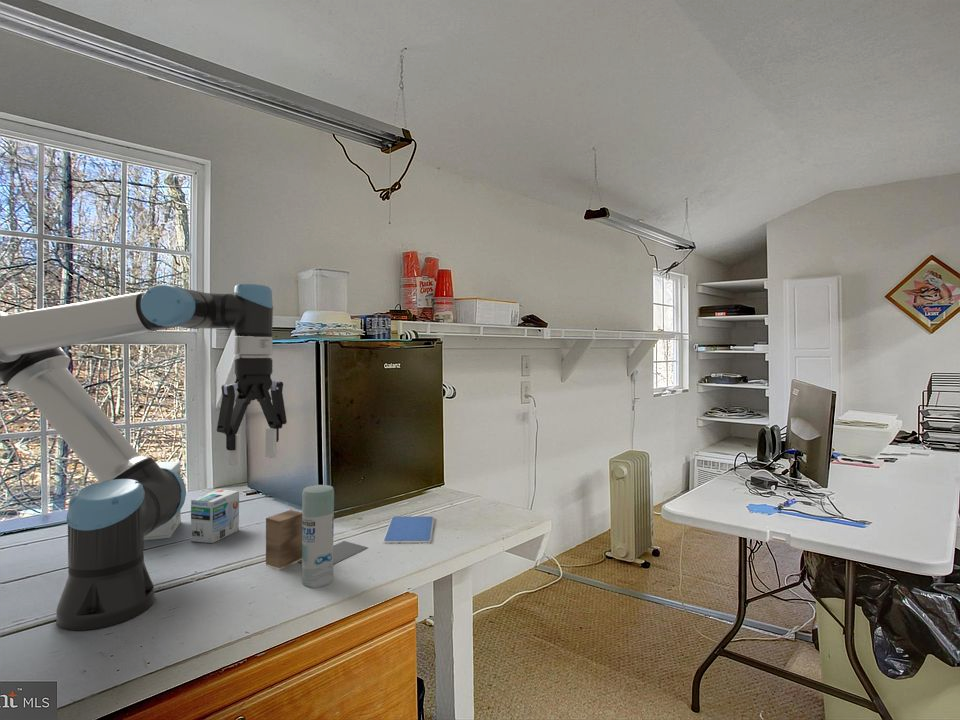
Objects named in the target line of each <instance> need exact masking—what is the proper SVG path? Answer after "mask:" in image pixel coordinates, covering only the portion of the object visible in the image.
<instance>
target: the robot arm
mask: <svg viewBox="0 0 960 720" xmlns="http://www.w3.org/2000/svg"><path fill="white" fill-rule="evenodd" d="M273 305H274V304H273V292H272V288H270V287H269V285H268V286H267V285H263V284H257V283H256V284H253V283H252V284H251V283H239V284H236V285H235V286H234V290H233V293H231V292H230V293H213V292H210V293H209V292H203V291H199V290H198V291H197V290H193V289H189V288H184V287H181V286H178V285H173V284H158V285H154V286H152V287H150V288H148V289H147V290H146V291H140V292H132V293H128V294H122V295H116V296H111V297H106V298H98V299H93V300H86V301H81V302H75V303H69V304H62V305H57V306H51V307H44V308H39V309H34V310H26V311H21V312H16V313H15V312H14V313H10V314H9V313H6V312H4V311H0V380H1V381H2V382H3V383H4V385H5V386H6V387H7V388H8V389H9V390H11V391H18V392H23V393H24V394H25V395H26V397H27V398H28V399H29V400H30V401H31V403H32V404H33V405H34V406H35V408H36V409H38V411H39V412H40V413H41V414H42V416H43V417H44V418H45V420H46V421H47V422H48V423H49V424H50V425H51V427H53V429H54V430H55V432H57V434H58V435H59V436H60V437H61V439H62V440H63V441H64V442H65V443H66V444H67V445H68V447H69V448H70V449H71V450H72V451H73V453H74V454H75V455H76V456H77V458H78V459H79V460H80V461H81V462H82V464H84V466H85V467H86V468H87V469H88V471H89V472H90V473H91V475H93V476H94V478H95V479H96V480H97V483H95V482H94V483H92V484H89V485H87V486H85V487H82V488H80V489H78V490H77V491H76V492H75V493H74V494H73V495H72V496H71V497H70V498H69V501H68V506H67V507H68V508H67V509H68V510H67V514H66V523H67V557H68V558H67V559H68V560H67V563H68V564H67V565H68V566H67V567H68V570H67V572H68V576H67V580H66V582H65V586H64V587H63V590H62V594H61V596H60V598H59V601H58V604H57V607H56V624H57V626H59V627H60V628H62V629H64V630H69V631H70V630H71V631H88V630H95V629H102V628H105V627H111V626H113V625H117V624H120V623H123V622H125V621H128V620H130V619H132V618H135V617H136V616H139V615H140V614H143V613H144V612H146V610H148V609H149V608H150V607H151V606H152V605H153V604H154V602H155V586H154V583H153V581H152V579H151V576H150V574H149V573H150V572H148V571H149V570H148V569H147V566H146V564H145V559H144V558H145V557H144V556H145V553H144V551H145V550H144V549H145V548H144V547H145V545H144V543H145V540H144V536H145V535H147V534H149V533H150V532H152V531H153V530H155V529H156V528H158V527H159V526H161V525H164V524H165V523H167V522H168V521H169V520H171V519H172V518H173V517H174V516H175V515H176V514H177V513H178V512H179V511H180V510H182V508H183V506H184V504H185V501H186V497H187V487H186V483H185V482H184V480H183V478H182V477H181V474H180V475H179V474H177V473H176V472H175V471H173V470H171V469H166V468H160V467H159V466H158V464H157V463H156V462H157V461H155V459H154V458H153V457H151V456H149V455H148V456H147V455H141V454H139V452H137V450H136V449H135V448H134V447H133V446H132V445H131V443H130V442H129V441H128V439H127V438H126V437H125V436H124V434H122V433H121V431H120V430H119V429H118V428H117V426H116V425H115V424H114V423H113V422H112V421H111V420H110V418H109V416H107V414H106V413H105V412H104V411H103V410H102V408H101V407H100V406H99V405H98V404H97V403H96V400H94V399H93V398H92V396H91V395H90V394H89V393H88V392H87V390H86V389H85V388H84V387H83V386H82V384H81V383H80V382H79V381H78V379H77V378H76V377H75V376H74V375H73V373H71V371H70V370H69V365H70V362H71V358H70V357H69V356H68V354H67V352H68V351H67V349H66V347H71V346H75V345H81V344H85V343H86V344H87V343H92V342H98V341H103V340H104V341H105V340H109V339H115V338H121V337H125V336H131V335H136V334H141V333H142V334H144V333H147V332H153V331H154V332H155V331H162V330H167V329H168V330H169V329H173V328H182V329H183V328H185V329H191V330H193V329H195V330H198V329H228V330H232V329H234V353H233V354H234V355H236V356H237V357H235V358H234V374H235V381H234V382H233V383H230V384H225V383H224V384H222V385H221V387H220V389H221V394H222V395H221V396H222V397H221V403H220V408H219V415H218V419H217V424H216V425H217V426H216V431H217V432H218V433H221V434H224V435H225V436H226V437H225V438H226V439H225V444H226V446H225V448H226V450H227V451H229V452H228V455H229V457H228V461H229V462H228V464H229V465H228V466H235V467H241V464H242V460H241V459H242V458H241V457H242V456H241V455H242V453H241V452H242V451H241V450H242V449H241V448H242V447H241V445H242V444H241V443H242V439H241V438H242V435H241V434H240V433H239V434H238V432H239V429H240V426H241V424H242V422H243V419H244V417H245V414H246V410H247V409H248V406H249V405H251V402H252V401H255V400H256V401H257V402H258V404H259V405H260V407H261V408H260V409H261V410H262V412H263V413H262V414H264V418H265V419H266V422H267V425H268V427H265V458H268V459H277V443H278V442H279V435H280V434H279V432H280V429H282V428H283V425H286V424H287V414H286V407H285V401H284V394H283V388H284V383H283V381H277V380H272V378H271V376H272V375H273V359H272V357H270V356H272V355H273V323H274V322H273V319H274V318H273V317H274V316H273V315H274V306H273ZM269 390H270V391H269ZM236 394H237V395H236Z"/></svg>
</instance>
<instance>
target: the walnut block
mask: <svg viewBox="0 0 960 720" xmlns="http://www.w3.org/2000/svg"><path fill="white" fill-rule="evenodd" d="M300 560H302V512H300V511H296V510H293V509H289V510H286V511H283V512H280V513H277V514H274V515H271V516H269V517H265V566H266V567H269V568H271V569H272V568H273V569H275V570H278V571H280V570H283V569H284V568H288V567H289V566H292V565H293V564H296V563H299V562H298V561H300Z"/></svg>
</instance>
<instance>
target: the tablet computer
mask: <svg viewBox="0 0 960 720" xmlns="http://www.w3.org/2000/svg"><path fill="white" fill-rule="evenodd" d="M434 525H435V517H434V516H425V515H424V516H421V515H420V516H392V517H391V519H390V520H389V523H388V526H387V528H386V532H385V533H384V536H383V540H382V544H384V545H424V544H423V543H430V544H431V543H432V540H433V530H434ZM419 543H421V544H419Z"/></svg>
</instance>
